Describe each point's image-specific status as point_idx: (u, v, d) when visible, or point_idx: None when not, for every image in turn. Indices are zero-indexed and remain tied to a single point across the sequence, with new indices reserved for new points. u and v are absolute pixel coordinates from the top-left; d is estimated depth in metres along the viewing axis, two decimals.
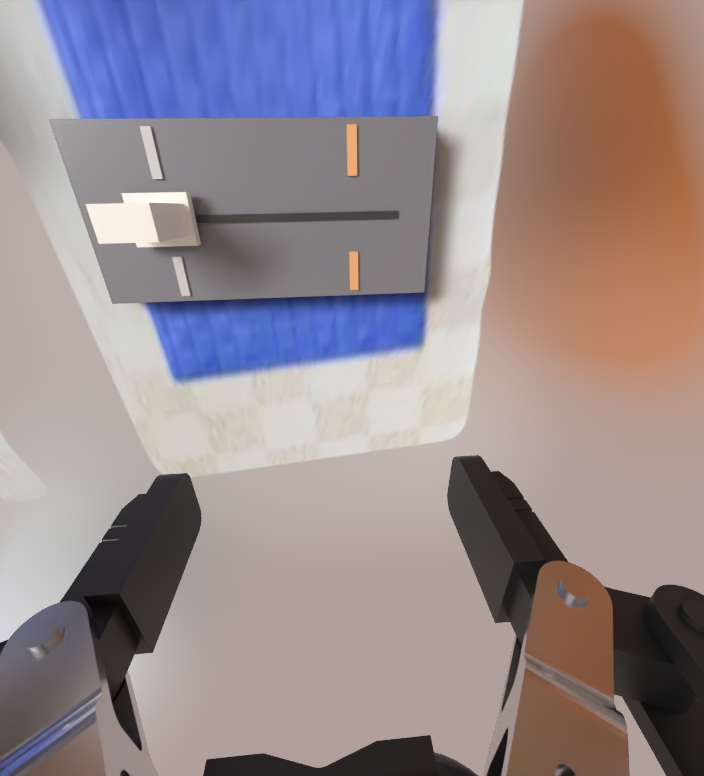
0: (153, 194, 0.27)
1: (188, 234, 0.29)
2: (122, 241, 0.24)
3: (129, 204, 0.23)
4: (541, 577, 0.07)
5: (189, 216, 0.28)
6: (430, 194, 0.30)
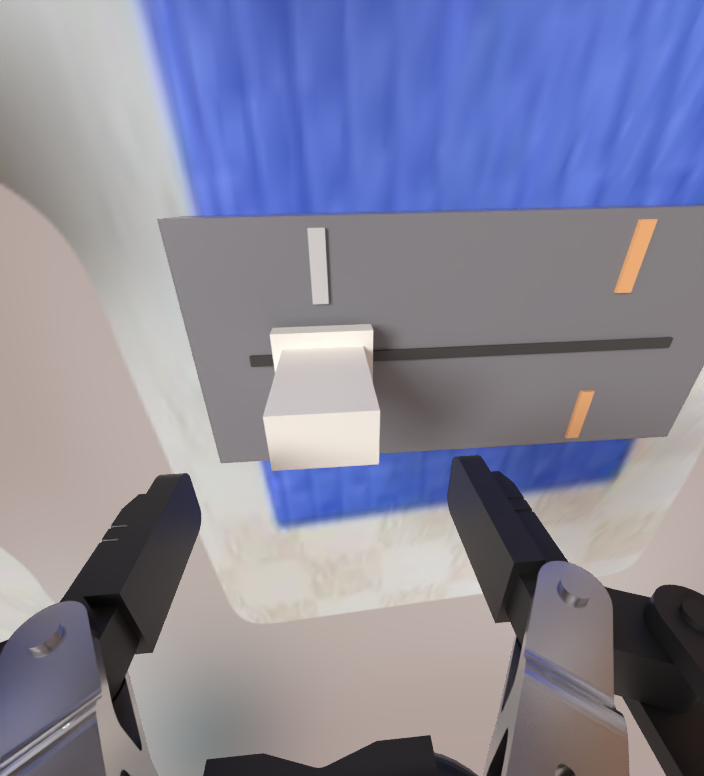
0: (320, 335, 0.17)
1: None
2: (314, 465, 0.13)
3: (343, 414, 0.12)
4: (541, 577, 0.07)
5: (370, 362, 0.18)
6: None
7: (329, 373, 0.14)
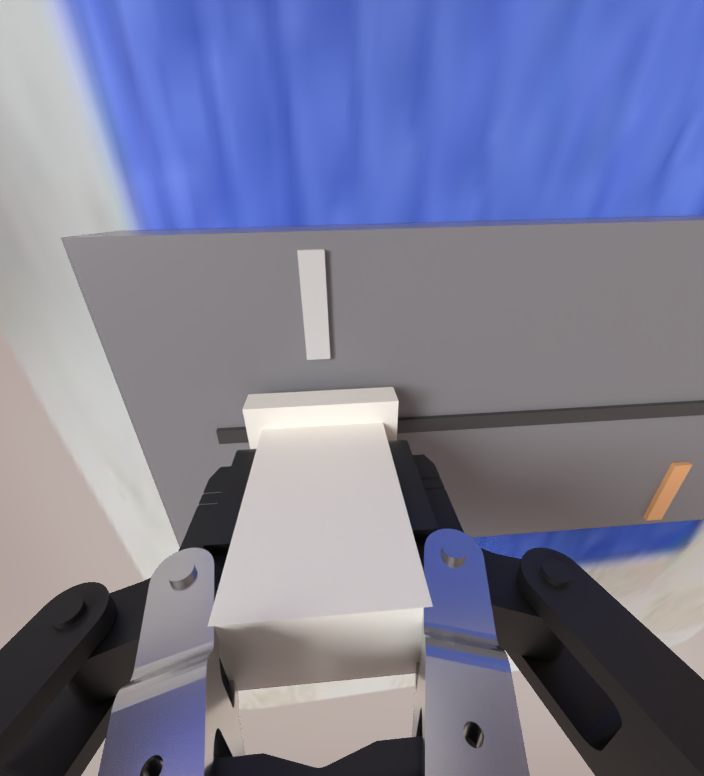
0: (320, 409, 0.11)
1: None
2: (309, 681, 0.07)
3: (364, 615, 0.06)
4: (428, 542, 0.07)
5: None
6: None
7: (334, 489, 0.09)
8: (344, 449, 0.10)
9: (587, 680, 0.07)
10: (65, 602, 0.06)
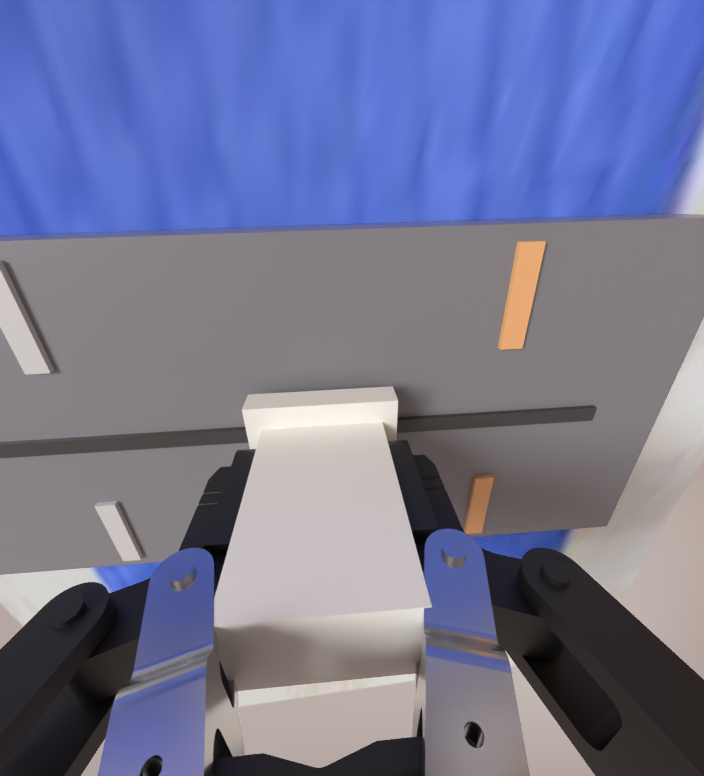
0: (319, 409, 0.11)
1: None
2: (309, 681, 0.07)
3: (362, 615, 0.06)
4: (428, 542, 0.07)
5: None
6: (674, 374, 0.13)
7: (334, 489, 0.09)
8: (343, 449, 0.10)
9: (587, 680, 0.07)
10: (64, 602, 0.06)
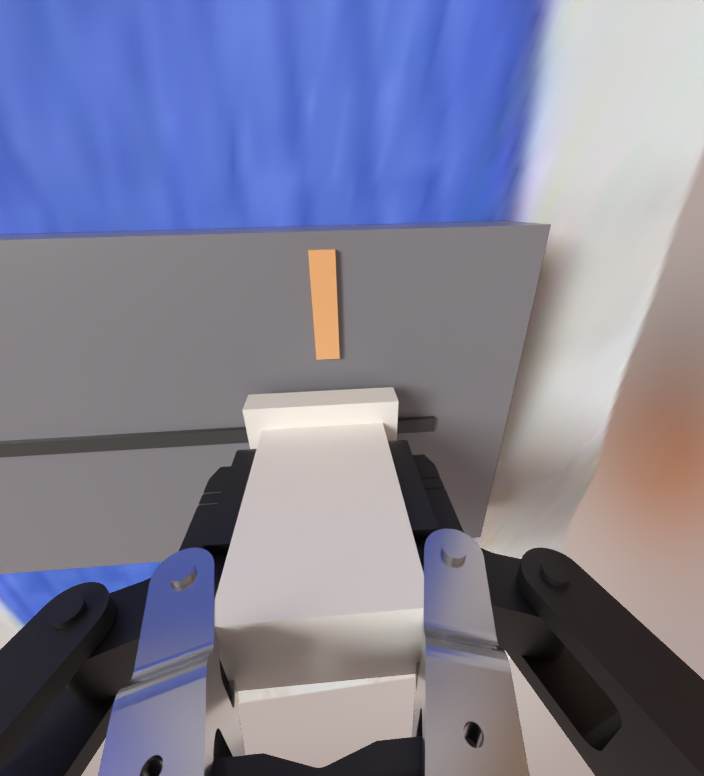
0: (320, 409, 0.11)
1: None
2: (309, 681, 0.07)
3: (363, 615, 0.06)
4: (428, 542, 0.07)
5: None
6: (511, 384, 0.13)
7: (334, 489, 0.09)
8: (344, 449, 0.10)
9: (587, 680, 0.07)
10: (65, 602, 0.06)
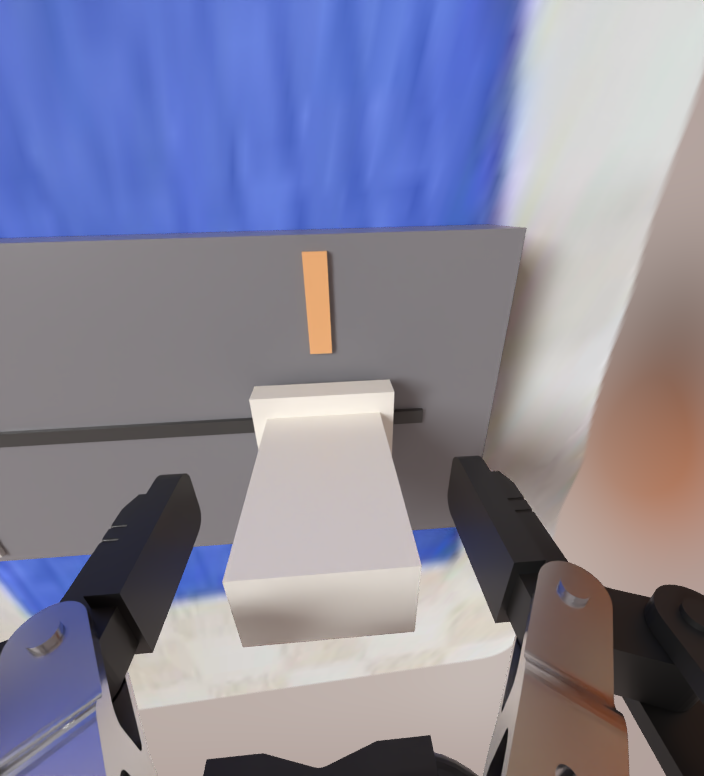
0: (321, 400, 0.12)
1: None
2: (312, 638, 0.08)
3: (360, 573, 0.07)
4: (541, 577, 0.07)
5: (388, 432, 0.13)
6: (494, 378, 0.14)
7: (334, 470, 0.10)
8: (343, 435, 0.11)
9: None
10: None
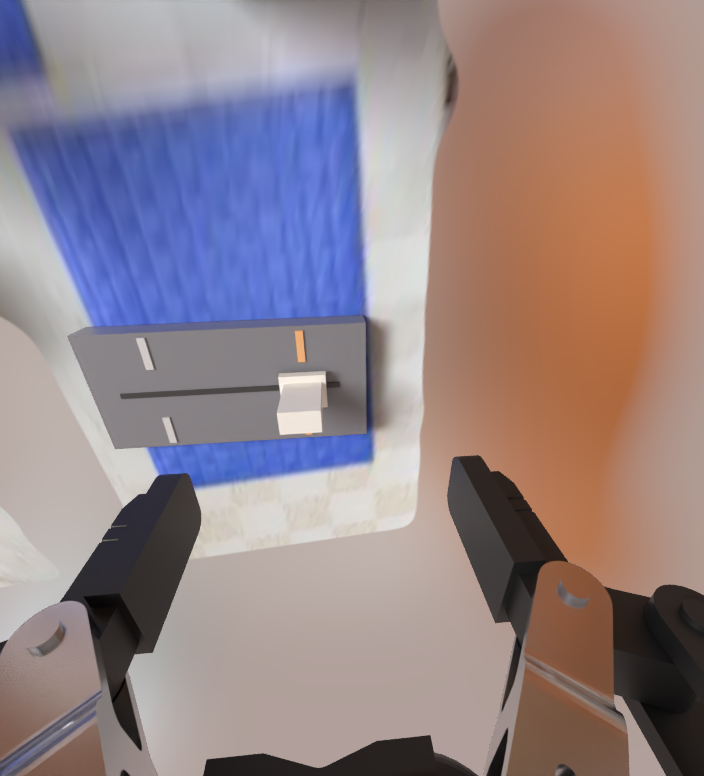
0: (301, 377, 0.37)
1: (322, 400, 0.38)
2: (296, 432, 0.33)
3: (306, 412, 0.32)
4: (541, 577, 0.07)
5: (325, 389, 0.37)
6: (364, 370, 0.38)
7: (303, 395, 0.34)
8: (308, 388, 0.36)
9: None
10: None
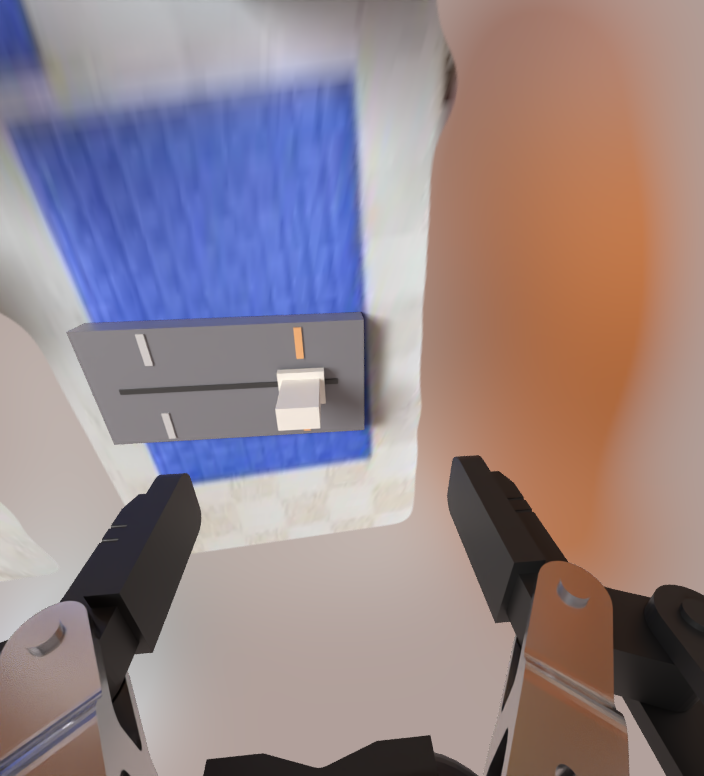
0: (299, 374, 0.37)
1: (320, 397, 0.38)
2: (295, 428, 0.33)
3: (305, 408, 0.32)
4: (541, 577, 0.07)
5: (323, 385, 0.38)
6: (362, 367, 0.39)
7: (302, 392, 0.35)
8: (306, 384, 0.36)
9: None
10: None
